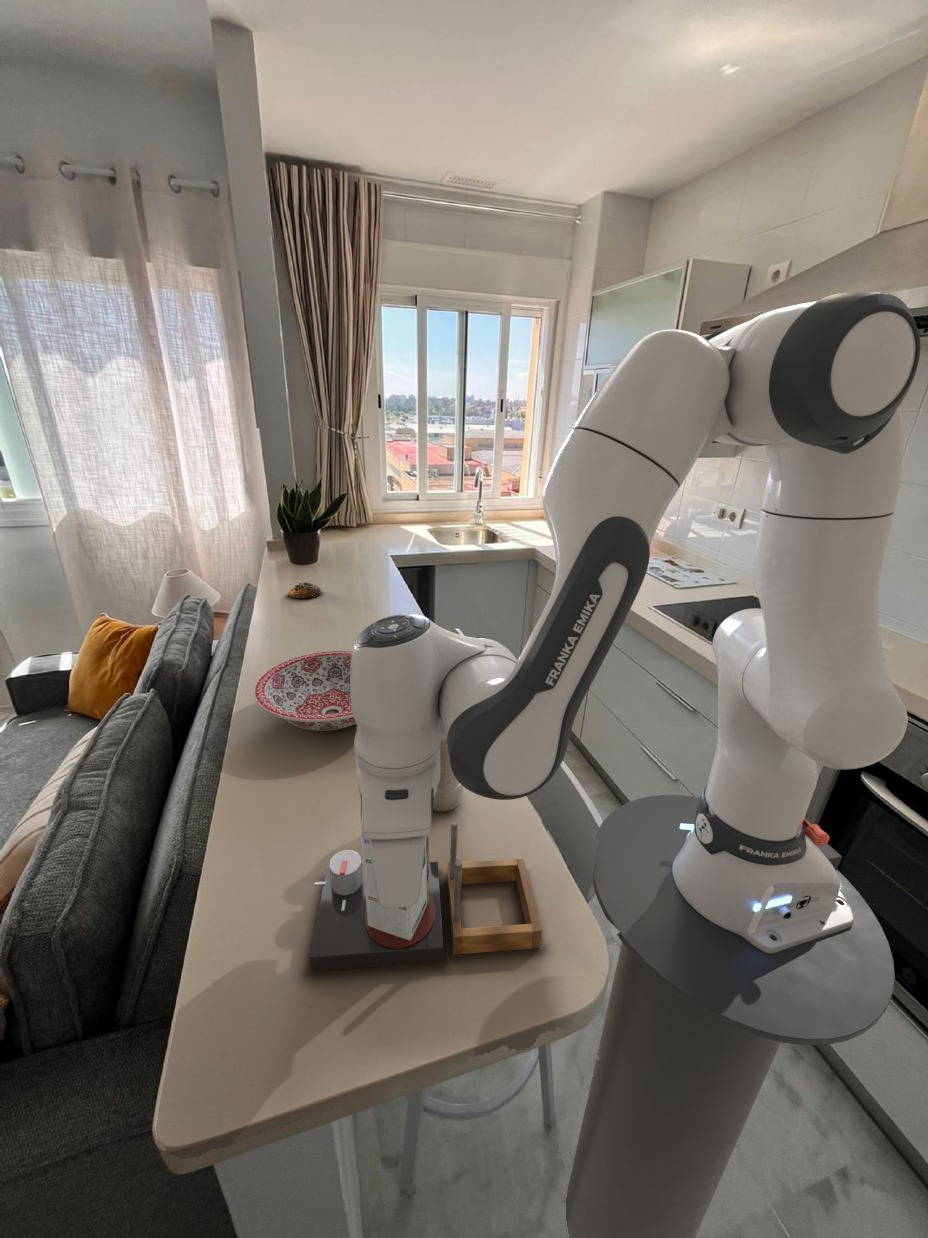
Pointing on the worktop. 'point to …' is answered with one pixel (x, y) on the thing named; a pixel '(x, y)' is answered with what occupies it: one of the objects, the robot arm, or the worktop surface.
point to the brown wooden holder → (497, 935)
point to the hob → (348, 940)
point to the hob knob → (345, 872)
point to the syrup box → (394, 919)
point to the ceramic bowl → (309, 691)
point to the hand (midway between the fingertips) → (402, 862)
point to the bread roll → (304, 591)
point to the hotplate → (399, 942)
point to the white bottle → (446, 783)
